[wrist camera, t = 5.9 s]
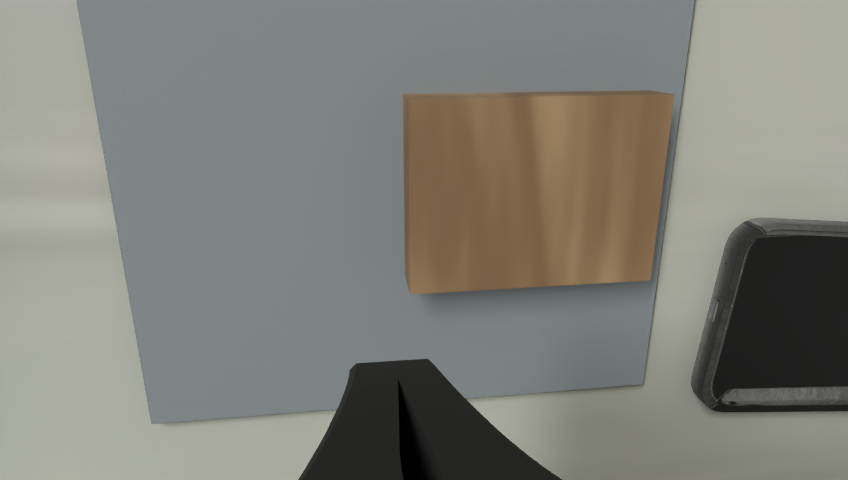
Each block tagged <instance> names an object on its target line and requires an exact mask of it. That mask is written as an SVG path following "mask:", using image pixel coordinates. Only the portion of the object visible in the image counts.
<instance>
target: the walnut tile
mask: <svg viewBox="0 0 848 480" xmlns="http://www.w3.org/2000/svg"><path fill="white" fill-rule="evenodd" d="M673 103H674V94H668V93H662V92H657V91H651V90H642V91H572V92H502V93H432V94H403V154H404V229H405V278H406V281H407V285H408V288H409V292H410V294H423V293H441V292H458V291H476V290H493V289H510V288H528V287H545V286H562V285H580V284H597V283H615V282H632V281H649V280H650V279H651V272H652V264H653V256H654V249H655V241H656V233H657V226H658V218H659V210H660V203H661V195H662V187H663V180H664V172H665V164H666V157H667V149H668V141H669V134H670V126H671V118H672V111H673Z"/></svg>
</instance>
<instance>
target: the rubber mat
mask: <svg viewBox="0 0 848 480" xmlns="http://www.w3.org/2000/svg"><path fill="white" fill-rule="evenodd" d="M694 2H695V0H77V6H78V11H79V17H80V23H81V28H82V34H83V40H84V45H85V51H86V57H87V62H88V68H89V73H90V79H91V85H92V90H93V96H94V102H95V107H96V113H97V119H98V124H99V130H100V136H101V141H102V147H103V153H104V158H105V164H106V170H107V175H108V181H109V186H110V192H111V198H112V203H113V209H114V215H115V220H116V226H117V232H118V237H119V243H120V249H121V254H122V260H123V266H124V271H125V277H126V283H127V288H128V294H129V299H130V305H131V311H132V316H133V322H134V328H135V333H136V339H137V345H138V350H139V356H140V362H141V367H142V373H143V379H144V384H145V390H146V396H147V401H148V407H149V412H150V418H151V424H158V423H171V422H183V421H195V420H208V419H220V418H232V417H245V416H257V415H269V414H282V413H294V412H306V411H319V410H331V409H338V407H339V404H340V402H341V399H342V397H343V394H344V391H345V389H346V385H347V382H348V378H349V371H350V369H351V368H352V367H353V366H354V365H355V364H356V363H368V362H383V361H398V360H414V359H429V360H430V361H431V362H432V363H433V364H434V365H435V366H436V367H437V368H438V370H439V371H440V372H441V373H442V374H443V375H444V376H445V377H446V379H447V380H448V381H449V382H450V383H451V384H452V385H453V386H454V387H455V388H456V389H457V390H458V391H459V393H460V394H461V395H462V396H463V397H464V398H465V399H467V398H479V397H492V396H504V395H516V394H529V393H541V392H553V391H566V390H578V389H590V388H603V387H615V386H627V385H640V384H643V381H644V374H645V366H646V359H647V351H648V344H649V336H650V329H651V322H652V314H653V307H654V299H655V292H656V284H657V277H658V269H659V262H660V255H661V247H662V240H663V232H664V225H665V217H666V210H667V203H668V195H669V188H670V180H671V173H672V165H673V158H674V150H675V143H676V136H677V128H678V121H679V113H680V106H681V98H682V91H683V84H684V76H685V69H686V61H687V54H688V46H689V39H690V31H691V24H692V17H693V9H694ZM642 90H651V91H657V92H662V93H668V94H674V103H673V111H672V118H671V126H670V134H669V141H668V149H667V157H666V164H665V172H664V180H663V187H662V195H661V203H660V210H659V218H658V226H657V233H656V241H655V249H654V256H653V264H652V272H651V279H650V280H649V281H632V282H615V283H597V284H580V285H562V286H545V287H528V288H510V289H493V290H476V291H458V292H441V293H423V294H410V292H409V288H408V285H407V281H406V278H405V229H404V154H403V94H432V93H502V92H572V91H642Z"/></svg>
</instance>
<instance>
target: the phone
mask: <svg viewBox="0 0 848 480" xmlns="http://www.w3.org/2000/svg"><path fill="white" fill-rule="evenodd" d="M725 263H727V265H726V266H725ZM717 299H718V300H720V301H719V305H718V309H717V313H716V316H715V320H714V322H712V318H713V314H714V310H715V306H716V302H717ZM691 386H692V389H693V392H694V393H695V394H696V395H697V397H698V398H699V399H701V400H702V401H703V402H704V403H705V404H706V405H707V406H708V407H709V408H711V409H712V410H714V411H718V412H800V411H848V222H840V221H819V220H799V219H778V218H755V219H751V220H748V221H746V222H744V223H742V224H741V225H740V226H738V227H737V228H736V229H735V230H734V231H733V232H732V234H731V235H730V236H729V238H728V240H727V243H726V245H725V248H724V252H723V256H722V260H721V264H720V267H719V271H718V275H717V279H716V283H715V287H714V291H713V295H712V299H711V303H710V307H709V310H708V314H707V318H706V322H705V326H704V330H703V334H702V338H701V342H700V346H699V349H698V353H697V357H696V361H695V365H694V369H693V373H692V378H691Z"/></svg>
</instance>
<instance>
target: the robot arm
mask: <svg viewBox="0 0 848 480" xmlns="http://www.w3.org/2000/svg"><path fill="white" fill-rule="evenodd" d="M298 480H562V479H560V478H559V477H557V476H556V475H554V474H553V473H551V472H550V471H548V470H547V469H546V468H544V467H543V466H541V465H540V464H539V463H537V462H536V461H535V460H533V459H532V458H531V457H529V456H528V455H527V454H526V453H524V452H523V451H522V450H521V449H520V448H518V447H517V446H516V445H515V444H513V443H512V442H511V441H510V440H509V439H507V438H506V437H505V436H504V435H503V434H502V433H501V432H499V431H498V430H497V429H496V428H495V427H494V426H493V425H492V424H491V423H490V422H489V421H488V420H487V419H486V418H485V417H483V416H482V415H481V414H480V413H479V412H478V411H477V410H476V409H475V408H474V407H473V406H472V405H471V404H470V403H469V402H468V401H467V400H466V399H465V398H464V397H463V396H462V395H461V394H460V393H459V391H458V390H457V389H456V388H455V387H454V386H453V385H452V384H451V383H450V382H449V381H448V380H447V379H446V377H445V376H444V375H443V374H442V373H441V372H440V371H439V370H438V368H437V367H436V366H435V365H434V364H433V363H432V362H431V361H430V360H429V359H414V360H398V361H383V362H368V363H356V364H355V365H354V366H353V367H352V368H351V369H350V371H349V378H348V382H347V385H346V389H345V391H344V394H343V397H342V399H341V402H340V404H339V407H338V409H337V411H336V413H335V415H334V417H333V419H332V421H331V423H330V426H329V428H328V430H327V432H326V434H325V436H324V438H323V439H322V441H321V443H320V445H319V446H318V448H317V450H316V451H315V453H314V455H313V457H312V458H311V460H310V462H309V463H308V465H307V467H306V468H305V470H304V472H303V473H302V475H301V476H300V478H299V479H298Z"/></svg>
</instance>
